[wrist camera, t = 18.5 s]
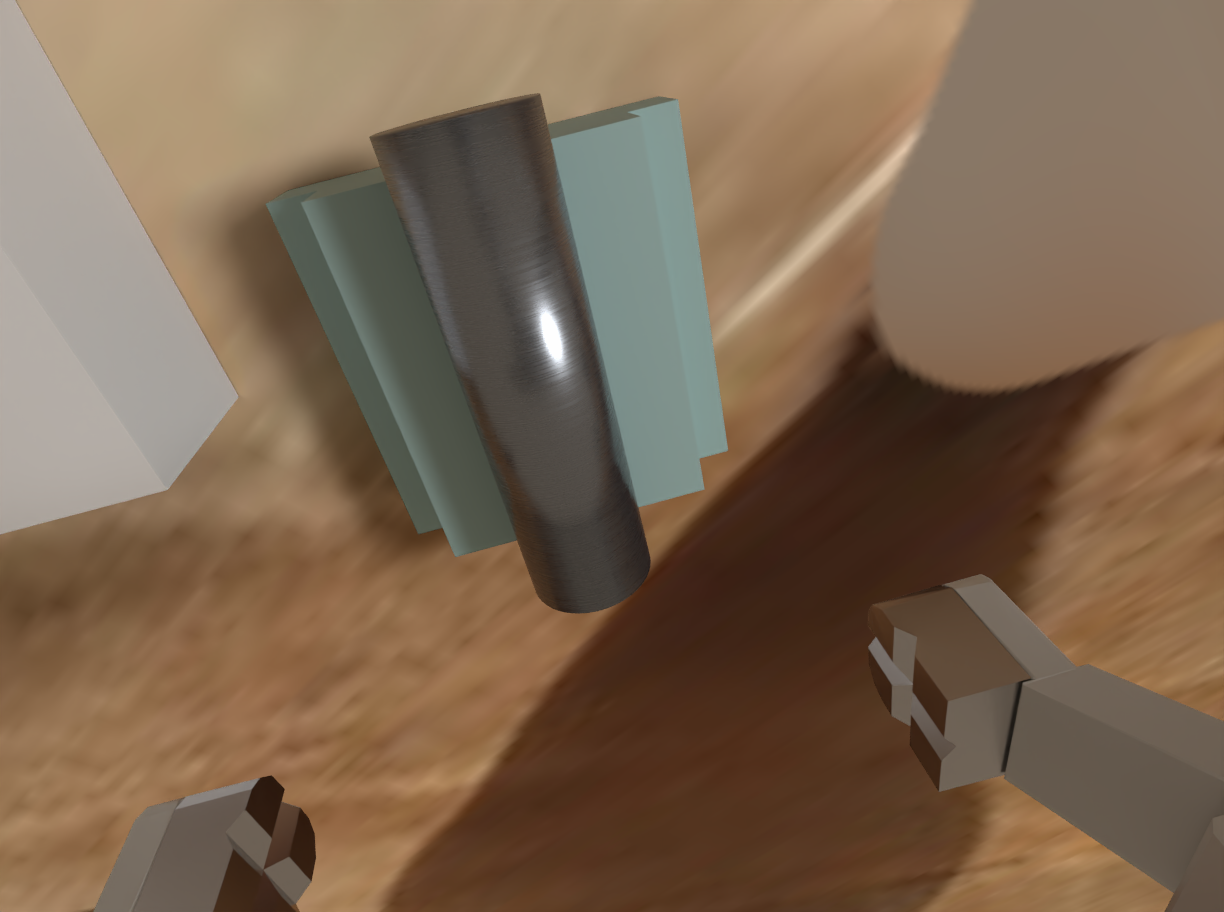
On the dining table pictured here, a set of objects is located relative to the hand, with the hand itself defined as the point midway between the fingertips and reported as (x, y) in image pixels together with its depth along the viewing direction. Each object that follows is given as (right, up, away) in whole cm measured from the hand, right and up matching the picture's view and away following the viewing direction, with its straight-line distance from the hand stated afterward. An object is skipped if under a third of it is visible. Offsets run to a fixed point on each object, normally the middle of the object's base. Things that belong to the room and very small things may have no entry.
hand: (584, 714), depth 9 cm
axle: (-2, +7, +12) cm, 14 cm away
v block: (-3, +8, +15) cm, 18 cm away
